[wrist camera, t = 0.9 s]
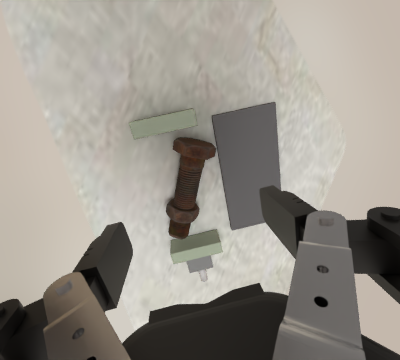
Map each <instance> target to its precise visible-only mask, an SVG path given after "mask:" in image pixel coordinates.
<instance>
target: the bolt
mask: <svg viewBox="0 0 400 360" xmlns="http://www.w3.org/2000/svg"><path fill="white" fill-rule="evenodd" d="M173 150H175V151H176V152H178V153H180V154H181V158H180V168H179V173H178V179H177V185H176V190H175V198H174V199H173V200H171V201H170V202H169V203H168V204H167V207H166V213H167V215H168V216H169V218H170V219H171V220H170V225H169V235H170V236H172V237H175V238H178V239H181V240H182V239H185V238H187V236H188V234H189V229H190V225H191V222H193V221H194V220H195V219H196V218H197V216H198V214H199V207H198V206H197V204H196V203H195V202H196V196H197V192H198V187H199V181H200V177H201V174H202V169H203V167H204V163H205V160H208V159H210V158H212V157H214V156H215V152H216V148H215V147H214V145H213V144H211V143H209V142H205V141H202V140H198V139H193V138H181V137H180V138H177V139H176V140H175V141H174V144H173Z"/></svg>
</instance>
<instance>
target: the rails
mask: <svg viewBox="0 0 400 360" xmlns="http://www.w3.org/2000/svg"><path fill="white" fill-rule="evenodd" d="M129 125H130V128H131V131H132V135H133V138H134V139H139V138H143V137H148V136H153V135H157V134H162V133H166V132H171V131H175V130H180V129H184V128H189V127H193V126H197V121H196V116H195V111H194V109H188V110H183V111H179V112H174V113H169V114H165V115H160V116H156V117H151V118H146V119H142V120H137V121H133V122H130V123H129ZM222 252H223V251H222V246H221V241H220V238H219V235H218V232H217V229H216V230H212V231H208V232H204V233H200V234H195V235H191V236H187V238H185V239H182V240H181V239H174V240H171V257H172V261H173V264H177V263H181V262H185V261H187V265H188V268H189V272H190V273H192V272H196V271H199V274H200V278H201V281H203V282H205V281H207V279H208V278H207V274H206V270H205V269H208V268H212V267H213V264H212V259H211V255H214V254H218V253H222Z"/></svg>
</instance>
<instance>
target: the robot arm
mask: <svg viewBox="0 0 400 360" xmlns="http://www.w3.org/2000/svg"><path fill="white" fill-rule="evenodd" d="M259 193H260V201H261V209H262V215H263V218H264V220H265V222H266V224H267V225H268V226H269V227H270V229H271V230H272V231H273V232H274V233H275V235H276V236H277V237H278V238H279V240H280V241H281V242H282V243H283V245H284V246H285V247H286V248H287V249H288V251H289V252H290V253H291V254H292V256H293V257H294V258H295V259H296V261H295V266H294V271H293V276H292V281H291V286H290V291H289V296H287V295H284V294H280V293H275V292H264V291H263V289H262V287H261V285H260V283H257V284H253V285H249V286H246V287H242V288H238V289H234V290H232V291H230V292H228V293H226V294H224V295H222V296H220V297H218V298H216V299H215V300H213V301H211V302H209V303H206V304H177V305H173V306H169V307H165V308H162V309H158V310H154V311H150V316H149V322H148V323H147V324H145V325H143V326H142V327H140V328H139V329H137V330H136V331H135V332H134V333H132V335H130V336H129V337H128V338H127V339H126V340H125V341H124V342H123V343H121V341H120V340H119V338H118V336H117V334H116V332H115V331H114V329H113V327H112V325H111V324H110V322H109V320H108V318H107V317H106V315H105V311H107V310H111V309H114V308H117V304H118V301H119V298H120V295H121V292H122V288H123V285H124V282H125V279H126V275H127V272H128V269H129V266H130V262H131V259H132V256H133V249H132V245H131V242H130V239H129V237H128V234H127V232H126V229H125V227H124V225H123V223H122V222H119V223H115V224H111V225H107V226H106V228H105V229H104V231H103V233H102V234H101V236H99V237H98V238H96V239H95V240H94V241H93V242H92V243H91V244H90V246H89V248H88V249H87V251H86V252H85V254H84V256H83V257H82V258H81V260H80V261H79V263H78V264H77V266H76V267H75V269H74V270H73V272H72V273H70V274H67V275H65V276H63V277H61V278H59V279H58V280H56V281H55V282H54V283H52V284H51V285H50V286H49V287H48V288H47V289H46V291H45V292H44V295H43V298H42V299H40V300H38V301H36V302H34V303H31V304H29V305H27V306H25V307H23V306H22V304H21V303H20V301H19V300H18V299H11V300H7V301H5V302H2V303H0V360H400V355H399V354H397V353H395V352H393V351H391V350H390V349H388V348H386V347H384V346H382V345H380V344H379V343H377V342H375V341H373V340H371V339H369V338H367V337H366V336H364V335H362V334H361V331H360V322H359V313H358V304H357V295H356V287H355V278H354V273H357V274H368V275H369V276H370V277H371V278H372V279H373V280H374V281H375V282H376V283H377V284H378V285H380V286H381V287H382V288H383V289H384V290H385V291H386V292H387V293H388V294H389V295H390V296H391V297H393V298H394V299H395V300H396V301H397V302H398V303H399V304H400V209H398V208H392V207H376V208H373V209H370V210H369V211H368V213H367V220H346V219H345V218H344V217H343V216H342V215H340V214H338V213H336V212H332V211H318V210H316V209H315V208H313V207H312V206H310V205H309V204H308V203H306V202H304V201H303V200H302V199H300V198H299V197H297V196H296V195H295V194H293V193H290V192H287V191H281V190H279V189H278V188H277V187H275V186H274V185H271V186H267V187H263V188H260V190H259Z"/></svg>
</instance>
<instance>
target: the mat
mask: <svg viewBox="0 0 400 360" xmlns="http://www.w3.org/2000/svg"><path fill="white" fill-rule="evenodd" d="M212 121H213V127H214V132H215V138H216V144H217V150H218V156H219V161H220V167H221V173H222V179H223V185H224V190H225V196H226V202H227V208H228V214H229V219H230V225H231V229H232V230H236V229H240V228H244V227H248V226H253V225H257V224H261V223H265V220H264V218H263V215H262V209H261V201H260V193H259V190H260V188H263V187H267V186H271V185H274V186H275V187H277V188H278V189H279V190H281V183H280V167H279V151H278V135H277V119H276V103H275V102H273V103H268V104H264V105H259V106H255V107H250V108H246V109H241V110H236V111H232V112H227V113H223V114H218V115H214V116H212Z"/></svg>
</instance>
